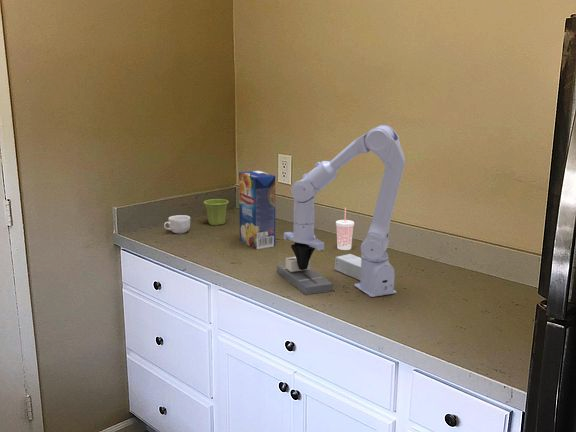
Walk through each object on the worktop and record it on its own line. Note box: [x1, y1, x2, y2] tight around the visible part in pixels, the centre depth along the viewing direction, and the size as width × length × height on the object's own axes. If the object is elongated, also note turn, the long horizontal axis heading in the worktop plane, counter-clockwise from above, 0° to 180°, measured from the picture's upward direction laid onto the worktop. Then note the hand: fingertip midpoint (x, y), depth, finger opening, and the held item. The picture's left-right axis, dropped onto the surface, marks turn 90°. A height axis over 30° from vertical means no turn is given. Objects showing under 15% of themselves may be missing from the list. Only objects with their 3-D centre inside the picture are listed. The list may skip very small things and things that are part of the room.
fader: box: [285, 256, 311, 272], centre depth 175 cm, size 4×6×3 cm, turn 113°
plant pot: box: [203, 198, 229, 226], centre depth 233 cm, size 9×9×9 cm
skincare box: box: [334, 253, 361, 282], centre depth 178 cm, size 6×4×12 cm
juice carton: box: [238, 170, 276, 250], centre depth 205 cm, size 12×8×24 cm, turn 31°
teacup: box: [163, 214, 191, 235], centre depth 221 cm, size 10×8×5 cm
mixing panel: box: [276, 263, 334, 295], centre depth 172 cm, size 20×8×2 cm, turn 23°
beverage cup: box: [335, 206, 355, 251], centre depth 202 cm, size 6×6×14 cm
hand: (303, 268), depth 172 cm, fingers closed
